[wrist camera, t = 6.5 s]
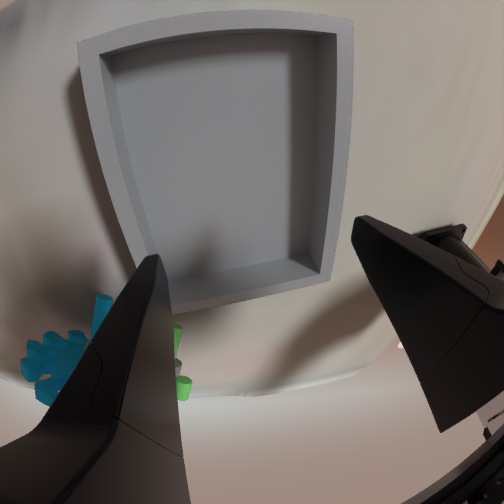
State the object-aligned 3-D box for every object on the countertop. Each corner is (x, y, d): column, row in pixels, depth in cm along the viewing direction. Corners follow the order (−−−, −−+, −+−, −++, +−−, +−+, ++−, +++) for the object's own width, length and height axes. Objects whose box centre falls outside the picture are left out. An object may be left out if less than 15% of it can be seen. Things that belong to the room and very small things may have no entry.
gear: (47, 333, 17) (-1, 402, 8) (55, 262, 17) (-11, 294, 8) (176, 365, 21) (200, 450, 12) (192, 298, 21) (227, 357, 12)
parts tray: (325, 23, 10) (352, 19, 8) (314, 255, 19) (330, 280, 17) (95, 45, 8) (76, 42, 6) (158, 287, 17) (158, 317, 15)
